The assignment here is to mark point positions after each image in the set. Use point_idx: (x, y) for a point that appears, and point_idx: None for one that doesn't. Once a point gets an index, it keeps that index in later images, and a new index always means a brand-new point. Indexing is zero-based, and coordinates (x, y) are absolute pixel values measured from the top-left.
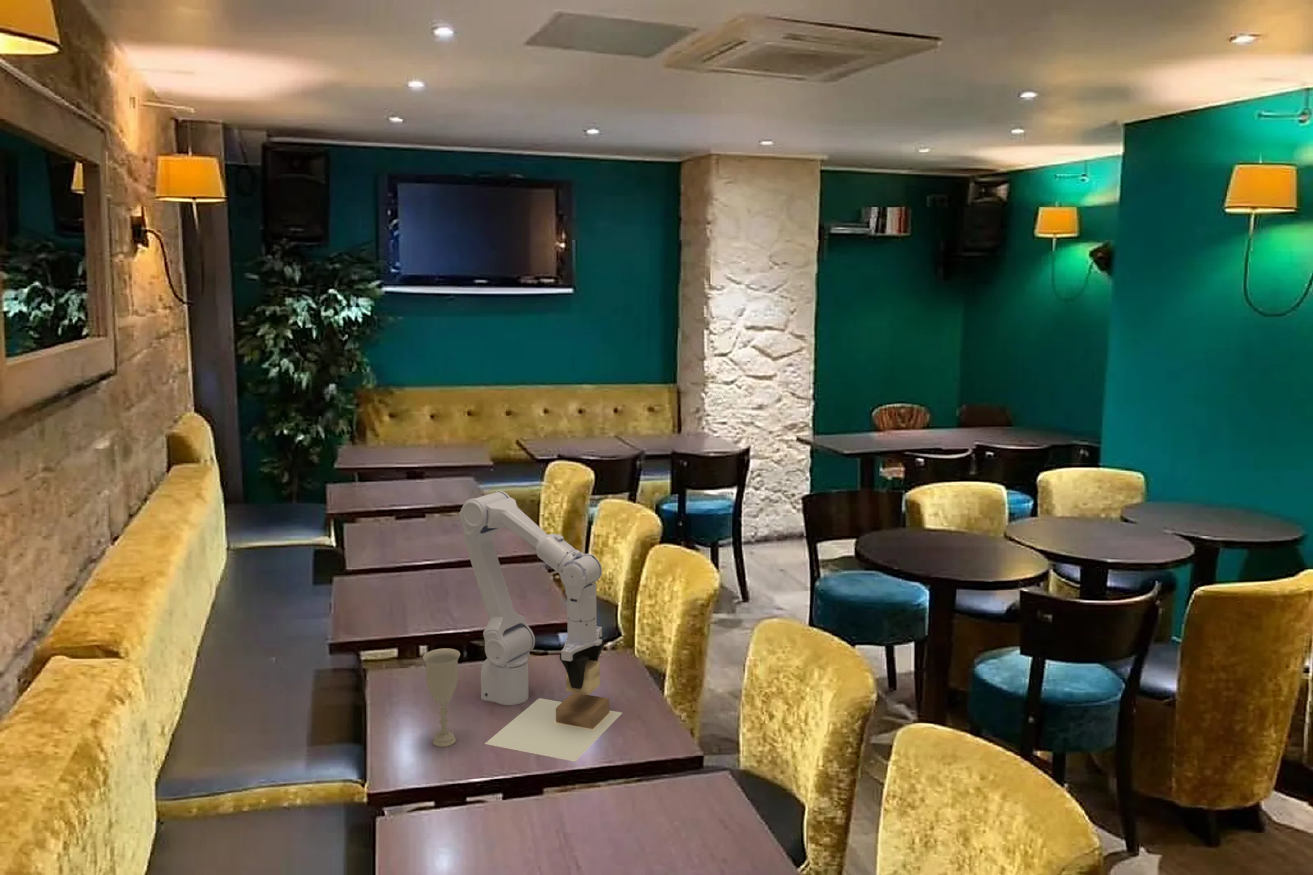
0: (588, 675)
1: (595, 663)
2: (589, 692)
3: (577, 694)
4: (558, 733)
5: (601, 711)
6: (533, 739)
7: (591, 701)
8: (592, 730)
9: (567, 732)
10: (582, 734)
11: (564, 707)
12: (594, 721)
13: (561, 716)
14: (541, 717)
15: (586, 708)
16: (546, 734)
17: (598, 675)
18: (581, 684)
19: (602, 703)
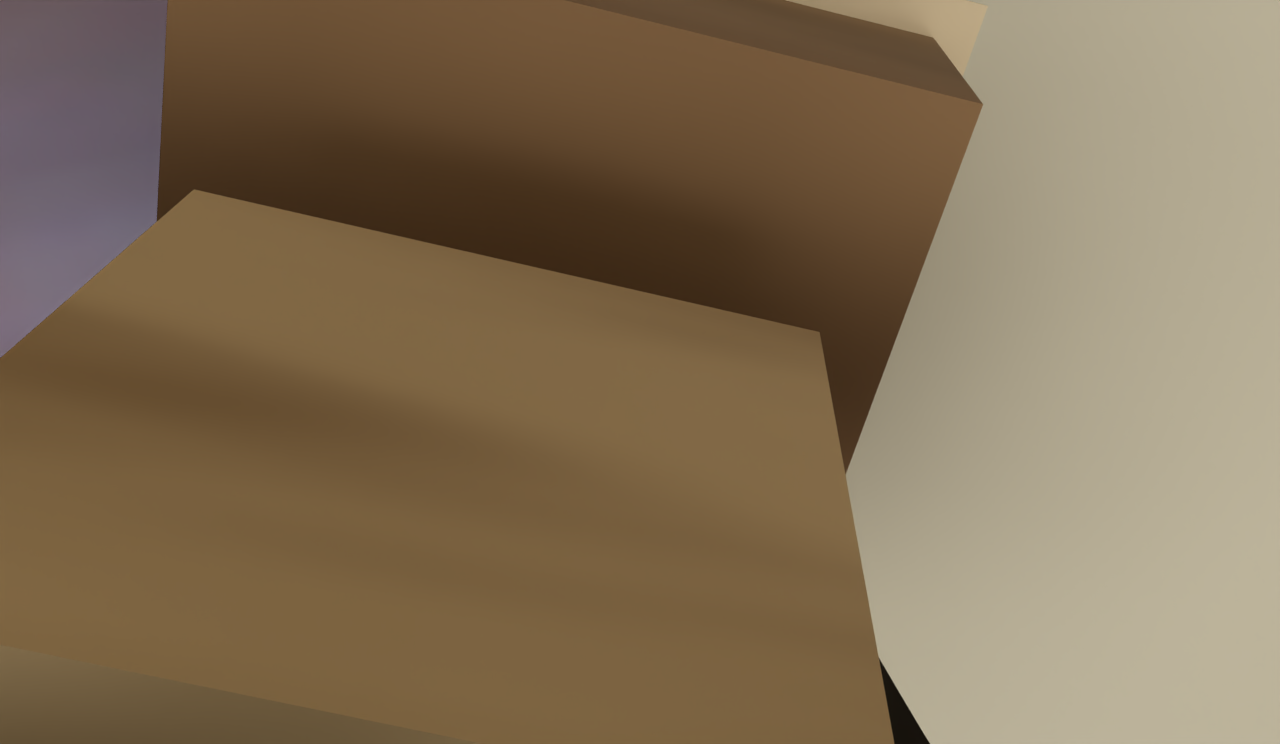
0: (871, 698)
1: (28, 717)
2: (813, 358)
3: None
4: (1073, 477)
5: None
6: (1233, 705)
7: (402, 232)
8: (979, 32)
9: (1045, 376)
10: (1113, 161)
11: None
12: (879, 43)
13: None
14: None
15: (716, 265)
16: (1105, 602)
17: (145, 336)
18: (881, 667)
19: (441, 3)
